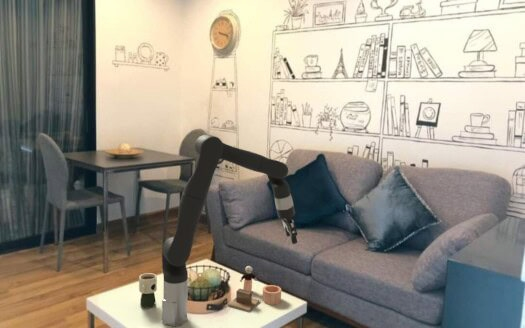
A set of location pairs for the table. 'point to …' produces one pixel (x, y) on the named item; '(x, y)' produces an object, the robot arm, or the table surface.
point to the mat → (243, 310)
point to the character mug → (148, 289)
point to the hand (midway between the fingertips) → (291, 239)
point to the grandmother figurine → (248, 278)
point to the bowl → (271, 294)
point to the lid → (243, 300)
